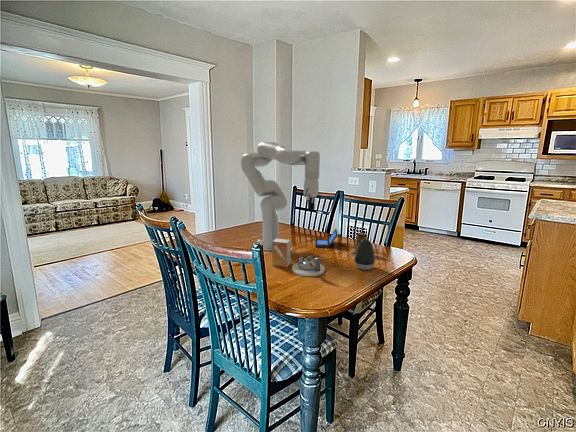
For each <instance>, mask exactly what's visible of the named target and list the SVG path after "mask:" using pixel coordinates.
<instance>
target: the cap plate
mask: <svg viewBox="0 0 576 432" xmlns="http://www.w3.org/2000/svg"><path fill="white" fill-rule="evenodd" d="M291 271H292V272H293V274H295V275H298V276H301V277H317V276H321V275H323V274H324V273H325V266H324V265H323V264H321V263H320V271H318V272H317V271H315V270H313V271H306V270H301V269H299V268H298V262H297V263H294V264H293V265H292V267H291Z"/></svg>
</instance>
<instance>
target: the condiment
mask: <svg viewBox="0 0 576 432" xmlns="http://www.w3.org/2000/svg"><path fill="white" fill-rule="evenodd" d="M367 236H368V235H367V233H364V232H359V233H356V239H355V251H354V252H350V255H353V256H355V253H356V250H357V247H358V245H359V242H358V241H357V239H359V240H361V241H362V240H363V239H368V238H367Z"/></svg>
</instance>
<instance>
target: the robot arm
mask: <svg viewBox="0 0 576 432" xmlns="http://www.w3.org/2000/svg"><path fill="white" fill-rule="evenodd" d="M256 149H257V152H247V153H245V154H243V155H242V157H241V160H240V167H241V170H242V172H243V174H244V175H245V177H246V178H247V179H248V181H249V183H250V185H251V187H252V188H253V190H254V192H255V194H256V196H258V197H261V198H262V199H261V202H260V211H261V218H262V220H261V221H262V224H261V225H262V239H257V240H256V243H257V244H258V243H261V244H262V245H263V246H264V250H263V251H269V252H270V251H272V243H273V241H274V240H275V239H279V216H278V214H277V212H278V211H279V212H280V211H283V210H284V209H286V208H287V206H288V202H287V201H288V200H287V198H286V196H285V194H284V192H283V191H282V189H281V187H280V185H279V184H278V183H277V181H274V180H272V179H269V180H267V179H265V178H264V176H263V174H262V172H260V170H259V169H257V168H258V167H259V168H260V167H265V166H268V165H269V164H270V163H271V162H272V161H273V160H275V161H278V162H280V163H282V164H285V165H289V166H304V183H303V197H304V198H306V200H307V210H308V211H314V210H315V209H316V208H315V205H316V203H315V202H316V198H317V196H319V191H320V190H319V188H320V187H319V184H320V183H319V179H320V164H321V163H320V160H321V154H320V152H319V151H312V150H310V151H309V150H308V151H306V150H291V149H286V148H285V146H284V145H281V144H279V143H277V142H274V141H262V142H260V143H259V144H258V145H257V148H256ZM261 244H260V245H261Z"/></svg>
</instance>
